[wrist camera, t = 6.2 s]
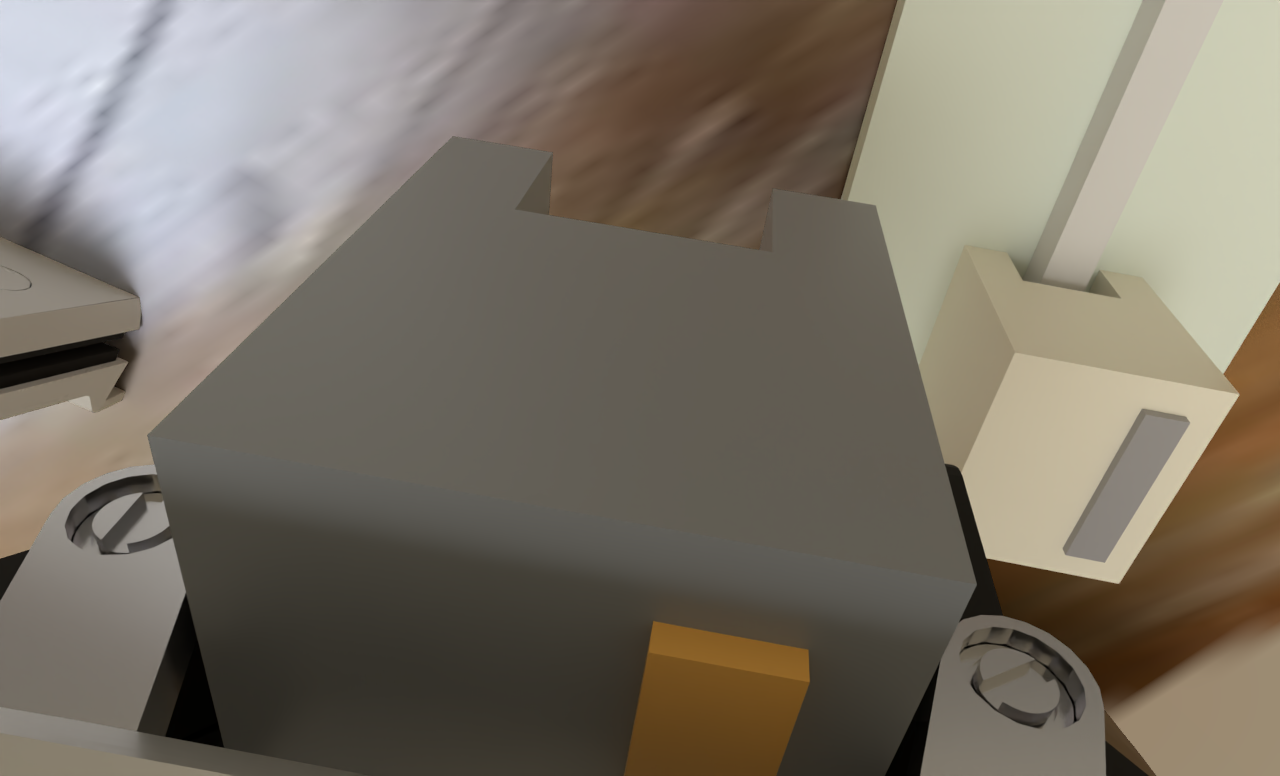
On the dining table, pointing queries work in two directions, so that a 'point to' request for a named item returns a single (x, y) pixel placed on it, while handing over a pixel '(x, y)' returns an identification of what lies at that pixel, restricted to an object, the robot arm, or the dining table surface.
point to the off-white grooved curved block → (58, 334)
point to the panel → (1081, 151)
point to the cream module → (1067, 412)
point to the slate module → (570, 496)
